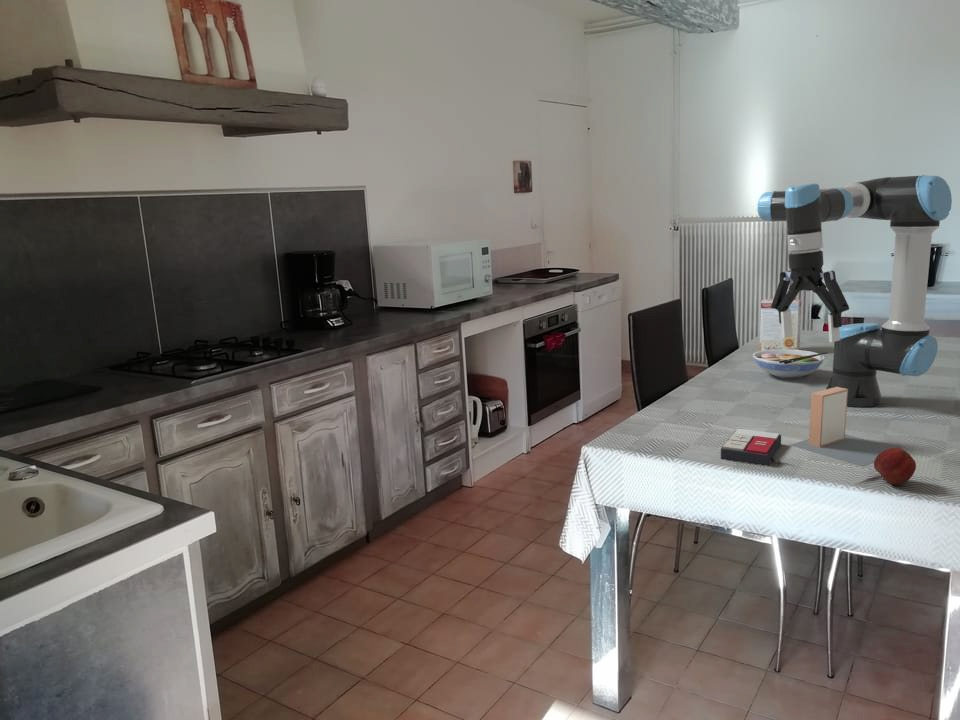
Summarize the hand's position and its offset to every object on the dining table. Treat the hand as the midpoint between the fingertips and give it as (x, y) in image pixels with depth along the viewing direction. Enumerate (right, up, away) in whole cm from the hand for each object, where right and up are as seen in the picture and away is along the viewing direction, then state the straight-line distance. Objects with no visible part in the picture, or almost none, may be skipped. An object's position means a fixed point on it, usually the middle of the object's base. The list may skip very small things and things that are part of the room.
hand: (810, 339), depth 183 cm
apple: (+9, -32, -20) cm, 39 cm away
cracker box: (+37, -2, +113) cm, 119 cm away
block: (+6, -25, +5) cm, 27 cm away
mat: (+9, -27, 0) cm, 29 cm away
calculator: (-14, -28, +1) cm, 31 cm away
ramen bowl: (+25, -11, +75) cm, 80 cm away
